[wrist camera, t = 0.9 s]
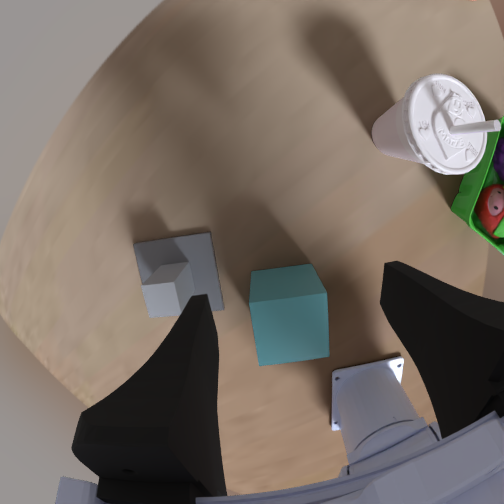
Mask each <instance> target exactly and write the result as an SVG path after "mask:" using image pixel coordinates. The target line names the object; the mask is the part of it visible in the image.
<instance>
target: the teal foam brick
mask: <svg viewBox="0 0 504 504" xmlns="http://www.w3.org/2000/svg"><path fill="white" fill-rule="evenodd" d="M249 306H250V312H251V319H252V325H253V331H254V337H255V343H256V350H257V356H258V362H259V366H264V365H273V364H281V363H289V362H297V361H304V360H311V359H317V358H324V357H329V325H328V303H327V292H326V290H325V288H324V286H323V284H322V282H321V280H320V279H319V277H318V275H317V273H316V271H315V269H314V267H313V266H312V264H304V265H296V266H289V267H281V268H274V269H266V270H258V271H251V283H250V296H249Z"/></svg>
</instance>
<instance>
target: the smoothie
mask: <svg viewBox="0 0 504 504" xmlns="http://www.w3.org/2000/svg"><path fill="white" fill-rule="evenodd" d="M500 130H501V124H500V122H499V121H498V120H491V121H485V117H484V114H483V111H482V109H481V106H480V104H479V102H478V101H477V99H476V98H475V96H474V95H473V93H472V92H471V91H470V90H469V89H468V88H467V87H466V86H465V85H464V84H463V83H462V82H460V81H459V80H457V79H456V78H454V77H451V76H449V75H446V74H431V75H428V76H425V77H421V78H419V79H418V80H416V81H415V82H413V83H412V84H411V85H410V87H409V88H408V90H407V91H406V93H405V96H404V97H403V98H402V99H401V100H399V101H398V102H397V103H396V104H395V105H393V106H392V107H391V108H390V109H389V110H387V111H386V112H385V113H384V114H383V115H381V116H380V117H379V118H378V119H377V120H376V121H375V122H374V124H373V127H372V139H373V142H374V144H375V146H376V147H377V148H378V149H379V150H380V151H381V152H382V153H384V154H386V155H388V156H393V157H397V158H401V159H406V160H410V161H414V162H418V163H422V164H425V165H426V166H427V167H429V168H430V169H432V170H434V171H435V172H438V173H442V174H445V175H451V174H464V173H467V172H469V171H471V170H472V169H473V168H475V167H476V166H477V164H478V163H479V162H480V160H481V159H482V157H483V154H484V152H485V148H486V143H487V132H493V131H500Z"/></svg>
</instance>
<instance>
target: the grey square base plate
mask: <svg viewBox="0 0 504 504" xmlns="http://www.w3.org/2000/svg"><path fill="white" fill-rule="evenodd" d="M133 245H134V250H135V254H136V259H137V263H138V267H139V272H140V276H141V280H142V285H141V287H142V291H143V295H144V299H145V302H146V306H147V310H148V313H149V317H150V318H152V317H165V316H178V315H181V313H182V311H183V309H184V308H185V306H186V304H187V302H188V301H189V299H190V298H191V296H194V295H201V294H207V295H208V299H209V303H210V307H211V311H219V310H224V303H223V298H222V293H221V287H220V282H219V276H218V271H217V265H216V260H215V254H214V248H213V243H212V237H211V232H205V233H198V234H191V235H184V236H178V237H171V238H164V239H158V240H152V241H145V242H139V243H135V244H133Z"/></svg>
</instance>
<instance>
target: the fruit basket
mask: <svg viewBox="0 0 504 504" xmlns="http://www.w3.org/2000/svg"><path fill="white" fill-rule="evenodd" d="M498 121H499V122H500V124H501V130H500V131H493V132H487V143H486V148H485V152H484V154H483V157H482V159H481V160H480V162H479V163H478V164H477V166H476V167H475V168H473V169H472V170H471V171H469V172H467V173H465V174H464V177H463V179H462V182H461V184H460V187H459V193H458V194H457V196H456V197H455V199H454V202H453V204H452V206H451V211H452V212H454V213H455V214H456V215H457V216H459V217H460V218H461V219H463V220H464V221H465V222H466V223H467V225H468V226H469V227H470V228H471V229H473V230H474V231H475V232H477V233H478V234H479V235H481V236H482V237H483V238H484V239H486V240H487V241H488V242H489V243H490V244H492V245H493V246H494V247H495V248H496V249H497V250H498V251H499V252H501V253H502V254H503V255H504V116H503V117H502V118H501V119H499V120H498Z"/></svg>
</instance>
